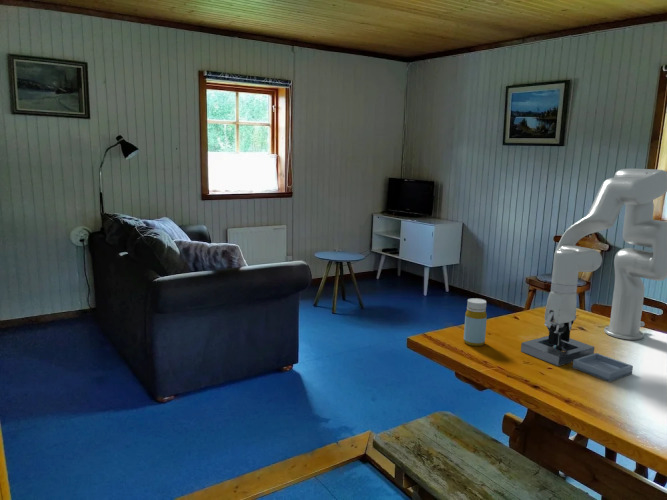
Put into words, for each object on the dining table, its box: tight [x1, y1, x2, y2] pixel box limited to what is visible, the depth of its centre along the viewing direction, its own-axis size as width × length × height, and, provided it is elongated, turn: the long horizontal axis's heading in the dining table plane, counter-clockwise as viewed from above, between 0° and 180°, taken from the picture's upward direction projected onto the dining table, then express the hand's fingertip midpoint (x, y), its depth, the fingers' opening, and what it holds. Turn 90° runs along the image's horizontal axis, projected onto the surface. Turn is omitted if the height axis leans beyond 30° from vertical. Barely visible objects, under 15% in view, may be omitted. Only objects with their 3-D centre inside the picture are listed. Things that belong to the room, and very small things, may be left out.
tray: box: [572, 352, 634, 383], centre depth 156 cm, size 12×12×2 cm
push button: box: [552, 321, 567, 352], centre depth 169 cm, size 7×5×10 cm
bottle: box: [463, 297, 488, 347], centre depth 176 cm, size 7×7×15 cm
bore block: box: [520, 335, 595, 367], centre depth 169 cm, size 18×14×3 cm
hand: (558, 341), depth 169 cm, fingers closed on push button, 5 cm apart
